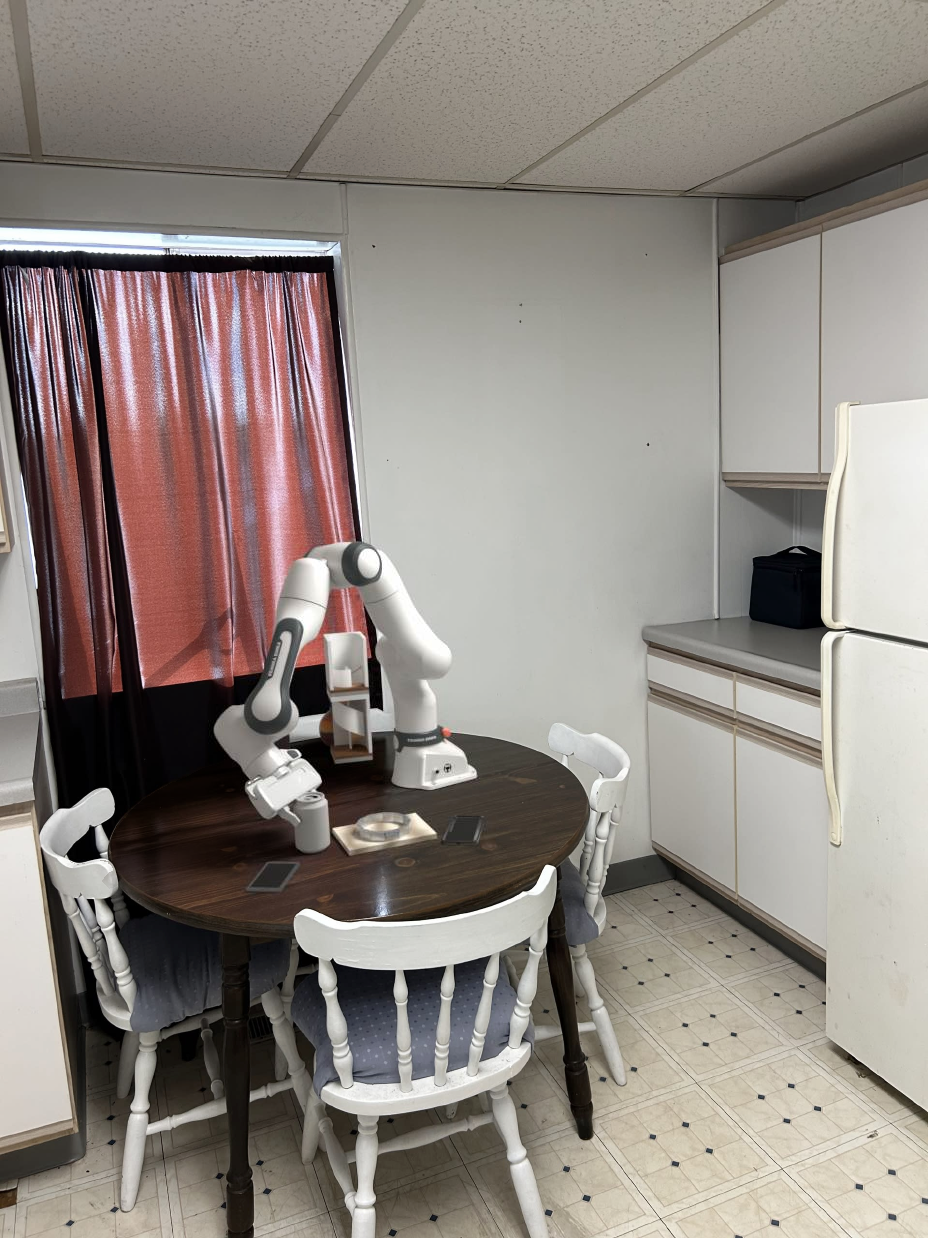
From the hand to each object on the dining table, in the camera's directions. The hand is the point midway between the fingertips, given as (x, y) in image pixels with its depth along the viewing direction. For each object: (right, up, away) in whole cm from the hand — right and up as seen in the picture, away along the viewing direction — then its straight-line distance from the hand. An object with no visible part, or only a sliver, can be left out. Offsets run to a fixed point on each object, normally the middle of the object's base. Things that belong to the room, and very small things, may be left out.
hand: (310, 816), depth 207 cm
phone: (+34, -5, +7) cm, 35 cm away
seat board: (+16, -6, +6) cm, 18 cm away
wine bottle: (-17, +1, +53) cm, 55 cm away
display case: (+1, +4, +66) cm, 66 cm away
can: (0, -7, +1) cm, 7 cm away
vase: (-4, +5, +78) cm, 79 cm away
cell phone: (-5, -10, -13) cm, 17 cm away
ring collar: (+16, -4, +6) cm, 17 cm away
